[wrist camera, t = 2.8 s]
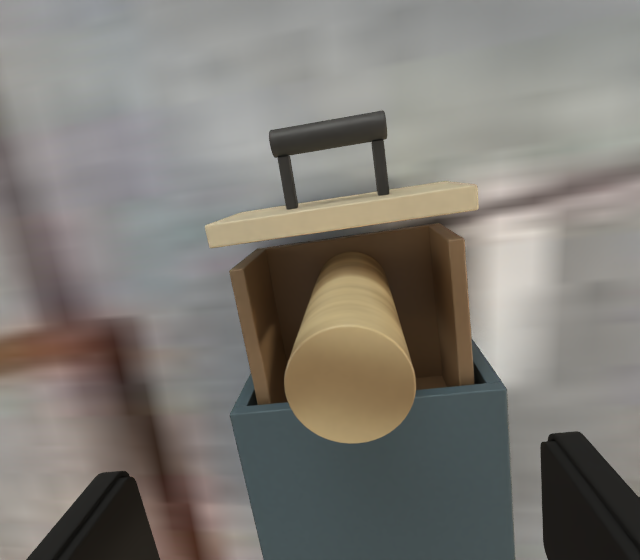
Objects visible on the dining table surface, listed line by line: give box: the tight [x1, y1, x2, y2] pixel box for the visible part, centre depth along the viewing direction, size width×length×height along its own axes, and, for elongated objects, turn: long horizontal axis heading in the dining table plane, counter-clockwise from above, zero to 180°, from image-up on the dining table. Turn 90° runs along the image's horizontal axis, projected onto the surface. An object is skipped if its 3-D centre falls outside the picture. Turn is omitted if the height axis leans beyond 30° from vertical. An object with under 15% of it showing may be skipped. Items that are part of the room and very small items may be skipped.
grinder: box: [284, 252, 416, 444], centre depth 21 cm, size 5×5×13 cm
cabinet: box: [230, 338, 515, 560], centre depth 27 cm, size 15×15×9 cm
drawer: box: [205, 111, 478, 405], centre depth 24 cm, size 18×13×7 cm
